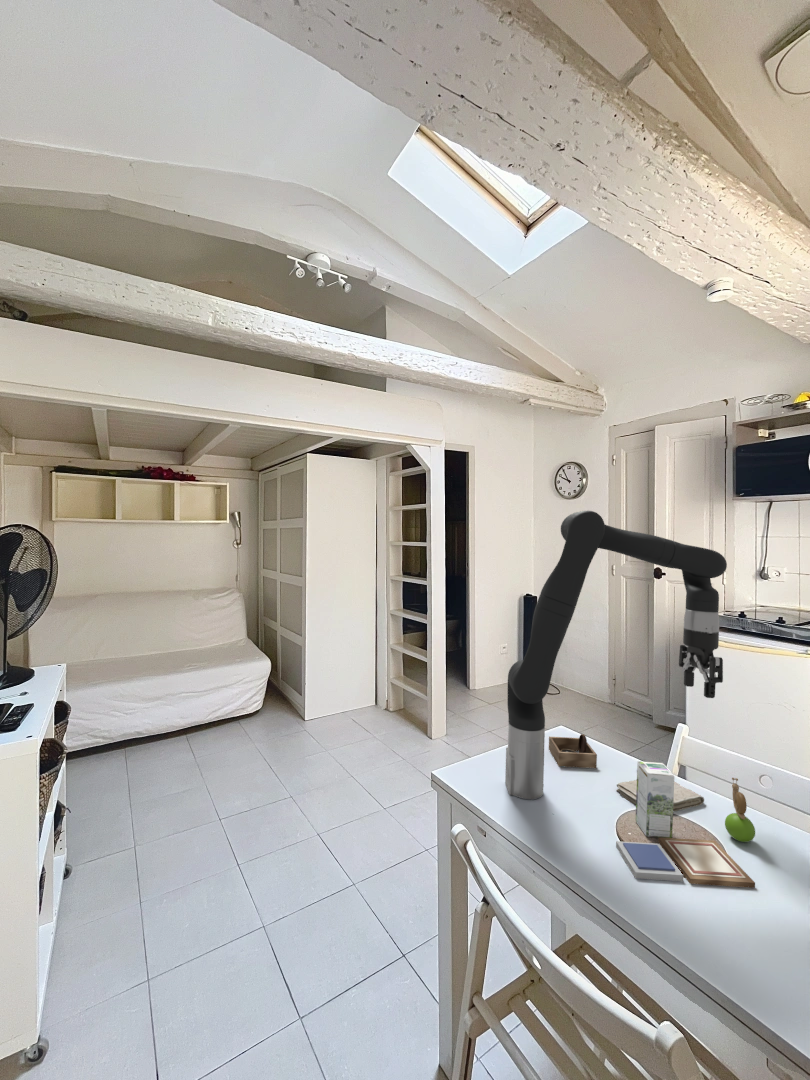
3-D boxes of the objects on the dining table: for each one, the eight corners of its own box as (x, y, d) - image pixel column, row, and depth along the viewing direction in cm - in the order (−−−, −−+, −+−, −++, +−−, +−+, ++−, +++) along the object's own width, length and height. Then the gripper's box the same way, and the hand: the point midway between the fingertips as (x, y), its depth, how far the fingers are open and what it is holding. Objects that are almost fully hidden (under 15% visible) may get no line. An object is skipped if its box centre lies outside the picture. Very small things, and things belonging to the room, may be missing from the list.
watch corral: (558, 766, 130) (558, 752, 130) (548, 749, 141) (549, 736, 141) (596, 768, 129) (596, 754, 129) (583, 750, 140) (583, 738, 140)
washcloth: (613, 792, 118) (613, 781, 118) (663, 781, 124) (663, 770, 124) (651, 819, 107) (652, 806, 107) (705, 806, 113) (705, 793, 113)
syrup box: (660, 823, 104) (662, 761, 104) (673, 840, 98) (674, 774, 98) (635, 821, 105) (636, 759, 105) (646, 837, 99) (647, 772, 99)
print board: (690, 883, 86) (690, 877, 86) (658, 841, 98) (658, 836, 98) (755, 887, 85) (755, 881, 85) (714, 845, 97) (714, 839, 97)
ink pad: (635, 878, 87) (635, 870, 87) (616, 846, 96) (616, 839, 96) (683, 881, 86) (683, 873, 86) (659, 849, 95) (659, 841, 95)
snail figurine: (747, 832, 102) (748, 779, 102) (759, 850, 96) (760, 794, 96) (719, 826, 104) (720, 775, 104) (729, 844, 98) (730, 789, 98)
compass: (555, 751, 139) (556, 728, 139) (582, 754, 138) (583, 730, 138) (561, 764, 131) (561, 739, 131) (589, 767, 130) (589, 742, 130)
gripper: (670, 622, 121) (668, 682, 121) (703, 633, 107) (700, 700, 107) (699, 623, 121) (696, 683, 121) (735, 634, 107) (733, 702, 107)
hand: (698, 691), depth 114 cm, fingers open, 8 cm apart
